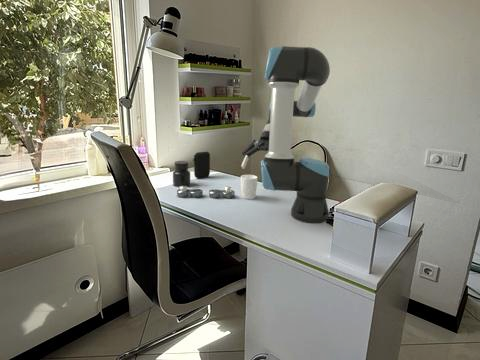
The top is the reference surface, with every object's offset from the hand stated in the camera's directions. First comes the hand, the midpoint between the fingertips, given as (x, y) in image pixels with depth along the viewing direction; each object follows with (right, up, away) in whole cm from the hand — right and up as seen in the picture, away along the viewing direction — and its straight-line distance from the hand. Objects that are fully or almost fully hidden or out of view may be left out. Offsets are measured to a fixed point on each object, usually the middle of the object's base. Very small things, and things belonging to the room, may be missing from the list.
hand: (255, 169), depth 154 cm
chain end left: (-31, -13, -4) cm, 34 cm away
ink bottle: (-38, -8, +13) cm, 41 cm away
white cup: (-3, -13, -3) cm, 14 cm away
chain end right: (-16, -13, -3) cm, 21 cm away
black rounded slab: (-29, -4, +27) cm, 40 cm away
